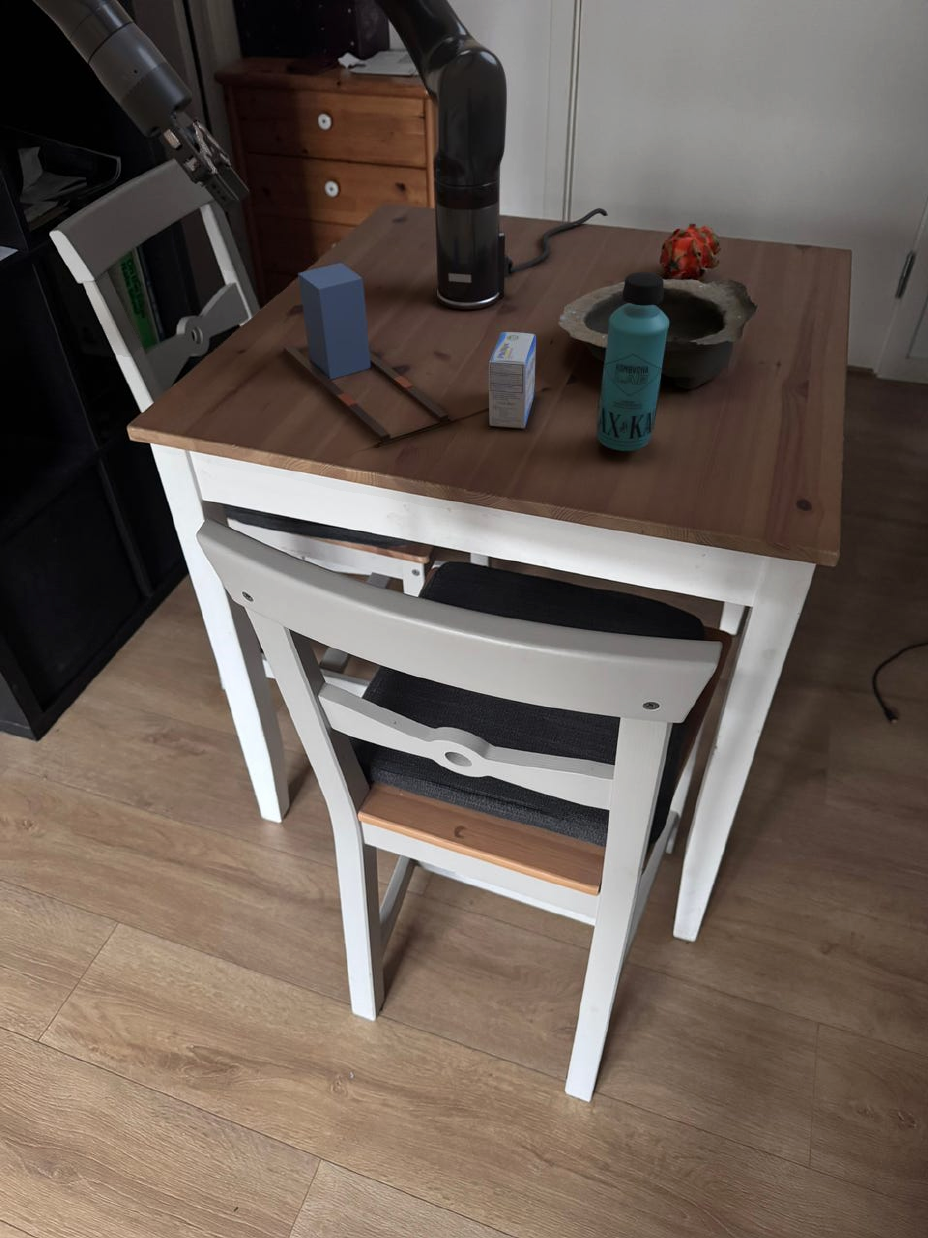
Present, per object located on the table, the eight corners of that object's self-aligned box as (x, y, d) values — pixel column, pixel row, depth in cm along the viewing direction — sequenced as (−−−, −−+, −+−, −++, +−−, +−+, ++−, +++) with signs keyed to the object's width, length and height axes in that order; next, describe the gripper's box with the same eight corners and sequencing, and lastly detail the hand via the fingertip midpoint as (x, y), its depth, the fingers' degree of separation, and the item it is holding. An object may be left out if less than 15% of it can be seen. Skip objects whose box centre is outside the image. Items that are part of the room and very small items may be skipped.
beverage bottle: (589, 435, 106) (604, 265, 93) (644, 432, 106) (668, 262, 93) (600, 465, 101) (618, 291, 88) (657, 461, 102) (684, 288, 88)
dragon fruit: (709, 276, 145) (669, 311, 139) (674, 236, 144) (632, 269, 139) (743, 241, 137) (702, 277, 132) (706, 199, 137) (663, 233, 131)
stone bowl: (775, 398, 111) (786, 328, 105) (575, 422, 111) (574, 353, 105) (719, 312, 129) (727, 247, 123) (547, 332, 129) (545, 269, 123)
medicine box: (524, 430, 107) (527, 362, 101) (488, 426, 108) (488, 359, 102) (534, 398, 113) (537, 332, 107) (499, 395, 114) (500, 329, 108)
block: (350, 351, 122) (341, 262, 114) (371, 368, 118) (362, 277, 110) (310, 362, 120) (297, 272, 112) (330, 380, 116) (318, 288, 108)
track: (347, 338, 126) (346, 328, 125) (451, 422, 109) (451, 412, 108) (282, 356, 123) (280, 346, 122) (379, 447, 105) (378, 436, 104)
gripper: (149, 58, 97) (253, 190, 105) (177, 58, 109) (268, 176, 117) (101, 105, 99) (206, 231, 107) (134, 100, 112) (226, 213, 119)
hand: (239, 202), depth 112 cm, fingers open, 8 cm apart
